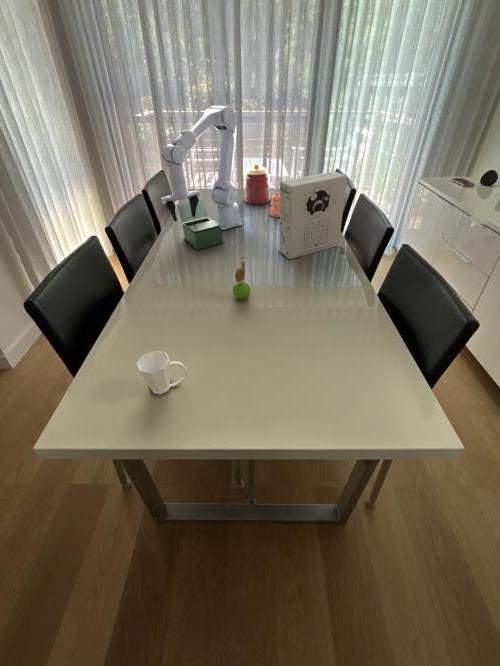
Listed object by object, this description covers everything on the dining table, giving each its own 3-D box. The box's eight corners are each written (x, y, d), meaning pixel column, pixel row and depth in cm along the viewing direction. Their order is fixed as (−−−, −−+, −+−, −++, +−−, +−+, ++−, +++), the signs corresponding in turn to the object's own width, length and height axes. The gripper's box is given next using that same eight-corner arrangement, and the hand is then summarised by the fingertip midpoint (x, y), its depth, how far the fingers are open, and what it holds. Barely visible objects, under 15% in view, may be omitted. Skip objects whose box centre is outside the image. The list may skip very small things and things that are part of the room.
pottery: (306, 208, 161) (307, 187, 155) (310, 215, 154) (311, 193, 147) (268, 211, 160) (268, 190, 154) (271, 218, 153) (270, 196, 147)
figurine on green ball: (254, 292, 105) (252, 257, 98) (247, 303, 101) (245, 267, 93) (238, 290, 107) (235, 255, 99) (230, 301, 102) (226, 265, 95)
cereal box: (327, 238, 133) (333, 170, 118) (339, 245, 128) (347, 175, 112) (279, 251, 127) (279, 181, 111) (289, 259, 121) (291, 186, 106)
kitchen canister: (243, 205, 170) (240, 167, 158) (247, 196, 179) (245, 160, 168) (268, 205, 168) (268, 166, 156) (271, 196, 177) (271, 160, 166)
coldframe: (184, 238, 141) (181, 221, 136) (209, 232, 145) (207, 215, 140) (197, 250, 132) (194, 231, 127) (222, 242, 136) (221, 224, 131)
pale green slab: (182, 221, 136) (181, 221, 136) (207, 215, 140) (206, 215, 140) (177, 204, 134) (176, 205, 134) (202, 199, 138) (202, 199, 138)
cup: (147, 377, 79) (138, 352, 74) (190, 372, 79) (184, 347, 74) (143, 401, 73) (133, 375, 68) (189, 395, 74) (182, 369, 69)
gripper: (162, 188, 118) (170, 225, 127) (200, 180, 124) (205, 217, 132) (156, 183, 123) (164, 220, 132) (193, 176, 128) (198, 212, 137)
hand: (184, 218), depth 132 cm, fingers open, 7 cm apart
